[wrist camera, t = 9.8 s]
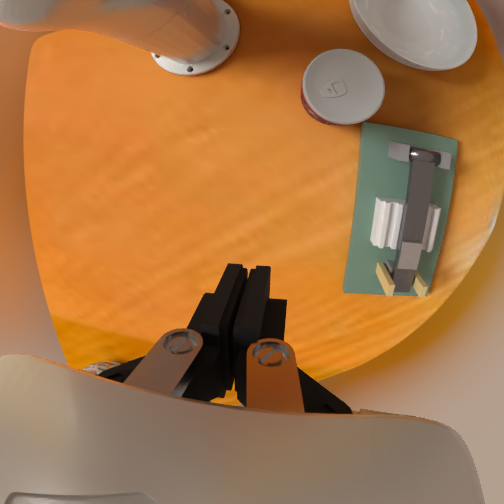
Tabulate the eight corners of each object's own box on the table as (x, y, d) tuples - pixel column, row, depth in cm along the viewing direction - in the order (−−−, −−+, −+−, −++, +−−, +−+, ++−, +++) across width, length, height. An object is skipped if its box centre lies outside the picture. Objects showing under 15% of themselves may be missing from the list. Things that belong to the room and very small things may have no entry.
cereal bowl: (320, 28, 29) (325, 10, 23) (370, -43, 22) (381, -66, 16) (428, 100, 31) (452, 98, 24) (467, 24, 24) (491, 14, 17)
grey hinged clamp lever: (406, 146, 30) (412, 147, 29) (434, 151, 30) (441, 152, 28) (384, 286, 38) (387, 293, 36) (409, 287, 37) (413, 294, 36)
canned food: (287, 93, 34) (284, 80, 24) (333, 57, 31) (346, 32, 21) (328, 137, 35) (341, 142, 25) (373, 101, 32) (401, 93, 22)
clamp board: (361, 122, 34) (377, 121, 27) (452, 139, 32) (483, 145, 25) (342, 287, 44) (349, 318, 36) (423, 291, 42) (441, 320, 35)
